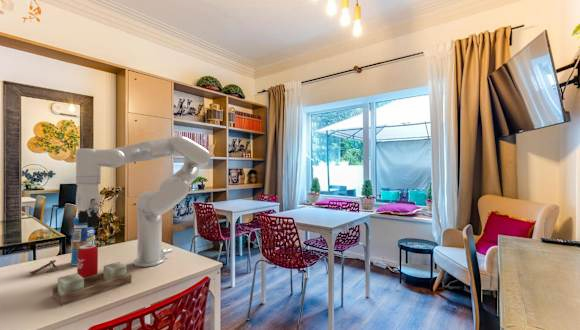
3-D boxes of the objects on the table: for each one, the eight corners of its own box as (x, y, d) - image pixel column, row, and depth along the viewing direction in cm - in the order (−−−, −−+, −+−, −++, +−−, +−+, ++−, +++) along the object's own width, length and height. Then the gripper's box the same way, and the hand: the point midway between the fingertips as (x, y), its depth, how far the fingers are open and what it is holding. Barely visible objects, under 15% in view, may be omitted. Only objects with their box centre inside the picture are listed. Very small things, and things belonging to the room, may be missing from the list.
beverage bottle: (67, 262, 114) (68, 217, 114) (91, 257, 121) (91, 214, 121) (73, 267, 109) (74, 220, 109) (97, 262, 116) (98, 217, 116)
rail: (119, 275, 103) (119, 260, 103) (131, 282, 97) (131, 266, 97) (52, 295, 86) (52, 277, 86) (61, 305, 80) (61, 286, 80)
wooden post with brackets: (60, 268, 106) (54, 259, 105) (35, 281, 101) (29, 272, 100) (60, 267, 108) (54, 258, 106) (35, 280, 103) (29, 271, 101)
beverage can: (84, 273, 104) (85, 243, 104) (101, 273, 104) (101, 243, 104) (73, 280, 97) (73, 248, 97) (90, 280, 98) (91, 248, 98)
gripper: (69, 179, 103) (68, 223, 103) (84, 182, 92) (83, 230, 93) (91, 179, 109) (91, 220, 109) (108, 181, 99) (108, 226, 99)
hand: (88, 224), depth 101 cm, fingers open, 9 cm apart
